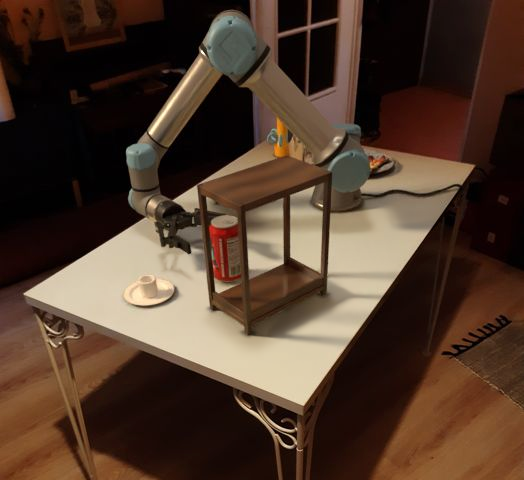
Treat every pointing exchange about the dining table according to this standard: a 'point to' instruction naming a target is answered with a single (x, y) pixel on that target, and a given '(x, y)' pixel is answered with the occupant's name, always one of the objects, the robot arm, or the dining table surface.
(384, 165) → the food plate
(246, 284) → the shelf stand
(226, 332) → the dining table surface
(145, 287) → the candle holder
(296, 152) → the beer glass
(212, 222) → the soda can
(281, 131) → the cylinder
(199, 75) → the robot arm
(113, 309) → the dining table surface
